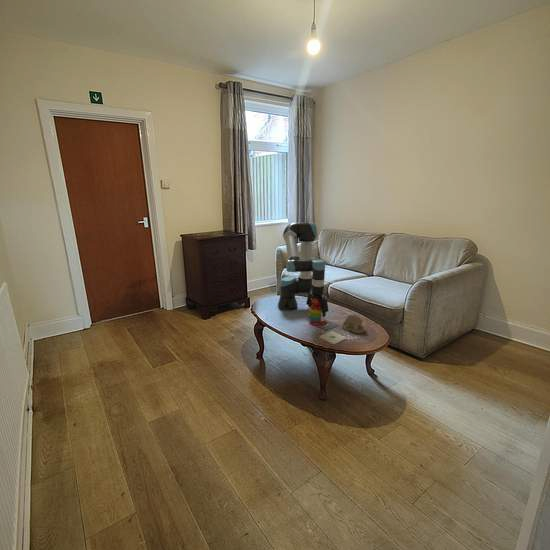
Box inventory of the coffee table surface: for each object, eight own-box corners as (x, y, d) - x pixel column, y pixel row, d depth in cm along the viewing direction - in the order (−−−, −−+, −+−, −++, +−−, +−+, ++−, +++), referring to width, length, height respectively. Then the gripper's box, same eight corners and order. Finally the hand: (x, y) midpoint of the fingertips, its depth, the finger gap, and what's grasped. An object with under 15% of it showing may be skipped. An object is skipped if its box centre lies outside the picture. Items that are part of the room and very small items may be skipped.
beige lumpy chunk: (365, 327, 207) (366, 313, 205) (362, 334, 198) (363, 319, 195) (344, 323, 213) (344, 310, 210) (340, 330, 203) (341, 316, 200)
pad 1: (313, 324, 211) (313, 323, 211) (324, 319, 219) (324, 319, 219) (326, 330, 203) (326, 329, 202) (338, 325, 210) (338, 324, 210)
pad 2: (319, 337, 194) (319, 336, 194) (331, 331, 201) (331, 330, 201) (334, 344, 185) (334, 343, 185) (346, 338, 192) (346, 337, 192)
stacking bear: (328, 324, 198) (329, 298, 192) (315, 328, 193) (315, 301, 188) (318, 318, 207) (318, 293, 202) (305, 322, 202) (305, 296, 197)
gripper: (300, 281, 198) (300, 314, 204) (327, 291, 182) (325, 326, 188) (309, 279, 202) (308, 311, 209) (336, 288, 186) (333, 322, 193)
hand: (316, 318), depth 199 cm, fingers closed on stacking bear, 9 cm apart
